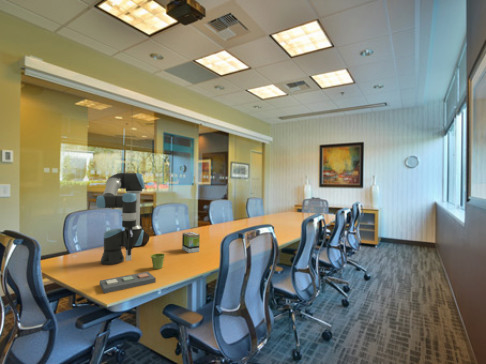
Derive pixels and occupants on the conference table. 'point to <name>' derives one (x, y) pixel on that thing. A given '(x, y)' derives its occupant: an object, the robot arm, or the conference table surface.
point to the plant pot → (157, 260)
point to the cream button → (111, 282)
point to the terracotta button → (143, 275)
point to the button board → (127, 284)
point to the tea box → (190, 242)
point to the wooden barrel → (144, 234)
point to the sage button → (127, 278)
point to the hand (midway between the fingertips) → (128, 260)
